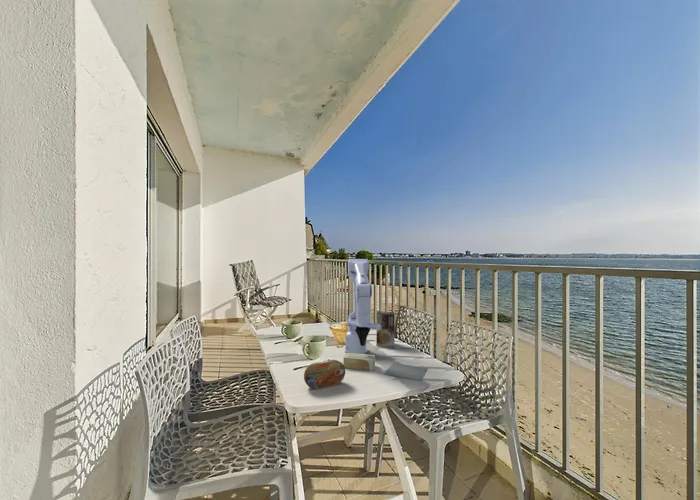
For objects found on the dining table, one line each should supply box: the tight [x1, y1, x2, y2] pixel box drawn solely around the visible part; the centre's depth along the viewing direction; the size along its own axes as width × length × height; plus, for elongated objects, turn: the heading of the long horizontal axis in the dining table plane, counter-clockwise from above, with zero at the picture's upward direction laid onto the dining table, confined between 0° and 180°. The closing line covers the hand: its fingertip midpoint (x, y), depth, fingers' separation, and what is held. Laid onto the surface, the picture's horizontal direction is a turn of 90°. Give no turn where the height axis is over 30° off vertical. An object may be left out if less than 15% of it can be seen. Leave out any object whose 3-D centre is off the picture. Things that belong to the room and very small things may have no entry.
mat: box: [383, 362, 428, 382], centre depth 126 cm, size 14×13×1 cm
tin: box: [303, 359, 346, 390], centre depth 112 cm, size 15×3×8 cm, turn 117°
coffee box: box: [375, 311, 396, 347], centre depth 160 cm, size 9×6×16 cm
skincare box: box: [342, 352, 376, 372], centre depth 130 cm, size 6×4×12 cm
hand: (362, 345), depth 133 cm, fingers closed
